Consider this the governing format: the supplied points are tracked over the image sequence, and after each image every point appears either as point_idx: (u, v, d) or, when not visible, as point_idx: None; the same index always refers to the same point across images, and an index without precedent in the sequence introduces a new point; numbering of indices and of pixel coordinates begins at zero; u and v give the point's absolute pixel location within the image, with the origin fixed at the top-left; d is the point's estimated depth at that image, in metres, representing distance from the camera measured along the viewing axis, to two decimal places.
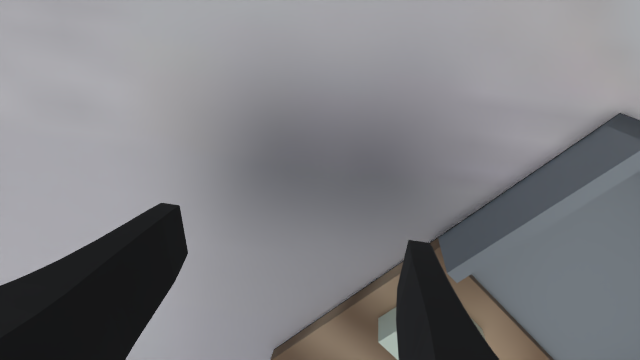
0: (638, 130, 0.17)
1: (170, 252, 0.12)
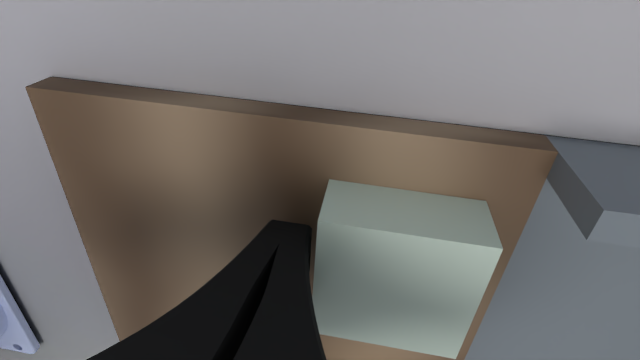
0: None
1: None
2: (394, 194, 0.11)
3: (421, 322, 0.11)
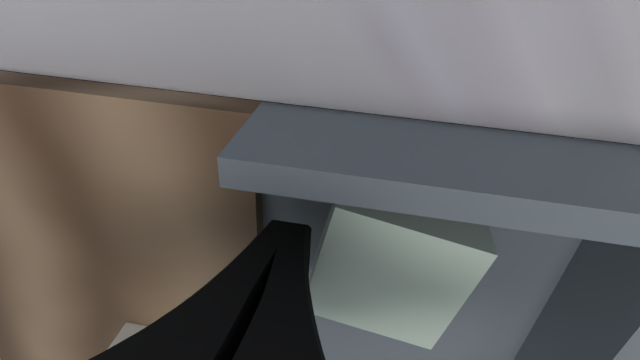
0: None
1: None
2: None
3: (408, 313, 0.12)
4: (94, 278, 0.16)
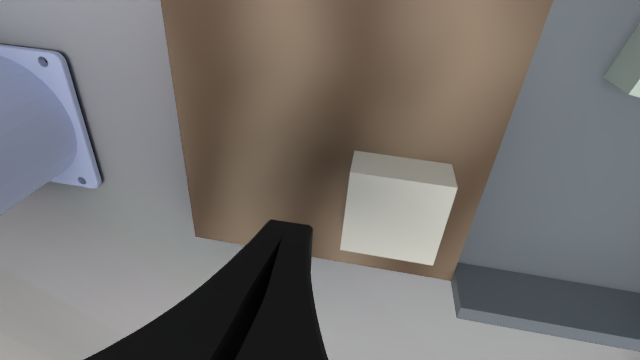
0: None
1: None
2: None
3: None
4: (343, 95, 0.17)
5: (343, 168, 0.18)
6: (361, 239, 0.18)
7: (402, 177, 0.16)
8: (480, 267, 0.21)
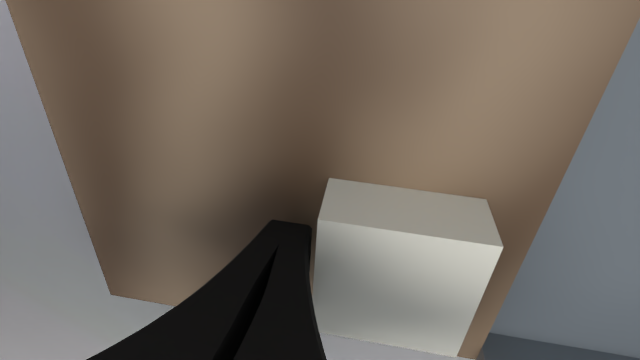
0: None
1: None
2: None
3: None
4: (303, 88, 0.10)
5: (311, 204, 0.12)
6: (342, 318, 0.11)
7: (407, 227, 0.10)
8: (519, 340, 0.14)
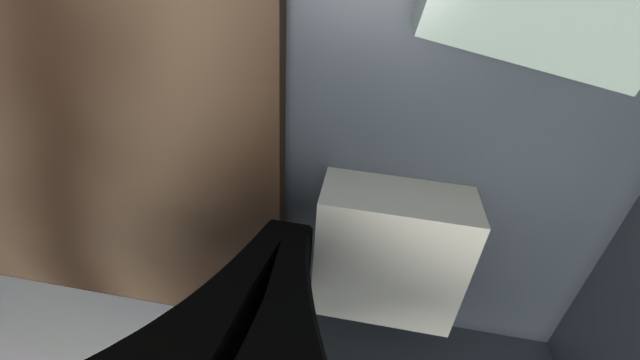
0: None
1: None
2: None
3: (615, 5, 0.07)
4: (35, 59, 0.11)
5: (84, 172, 0.13)
6: (339, 299, 0.12)
7: (401, 211, 0.10)
8: None
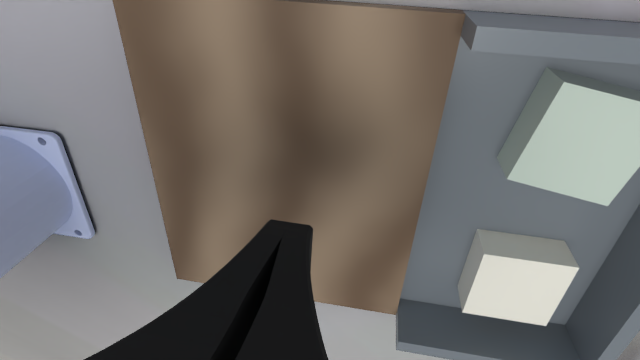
0: None
1: None
2: (594, 80, 0.16)
3: (597, 172, 0.16)
4: (289, 170, 0.20)
5: None
6: (483, 304, 0.21)
7: (529, 257, 0.19)
8: (420, 303, 0.24)
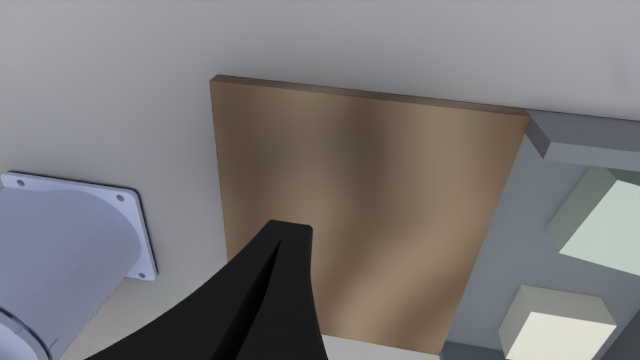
0: None
1: None
2: (639, 172, 0.18)
3: None
4: (354, 233, 0.22)
5: (354, 278, 0.24)
6: (526, 353, 0.23)
7: (571, 315, 0.21)
8: (462, 345, 0.26)
